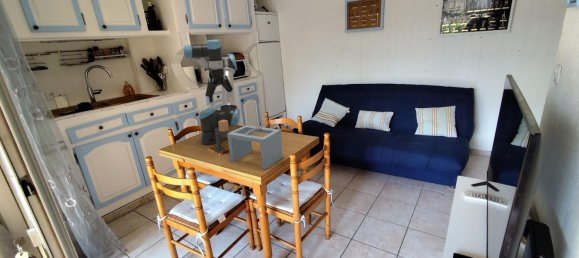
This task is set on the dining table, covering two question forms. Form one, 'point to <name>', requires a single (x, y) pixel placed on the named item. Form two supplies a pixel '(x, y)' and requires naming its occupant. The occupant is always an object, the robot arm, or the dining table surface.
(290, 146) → the dining table surface
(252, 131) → the hook bar
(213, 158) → the dining table surface
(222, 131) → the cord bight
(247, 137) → the shelf
